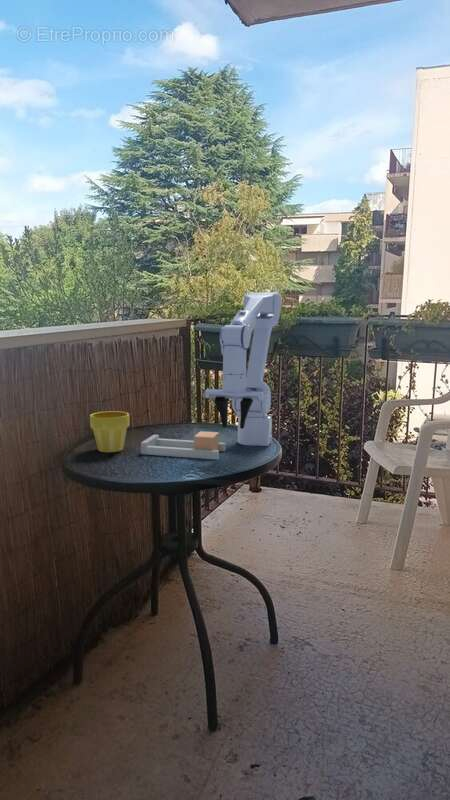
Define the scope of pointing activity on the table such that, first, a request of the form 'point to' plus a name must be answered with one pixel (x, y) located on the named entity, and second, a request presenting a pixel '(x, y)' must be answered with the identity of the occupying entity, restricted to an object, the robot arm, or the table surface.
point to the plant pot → (109, 429)
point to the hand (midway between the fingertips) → (233, 427)
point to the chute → (177, 448)
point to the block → (206, 440)
